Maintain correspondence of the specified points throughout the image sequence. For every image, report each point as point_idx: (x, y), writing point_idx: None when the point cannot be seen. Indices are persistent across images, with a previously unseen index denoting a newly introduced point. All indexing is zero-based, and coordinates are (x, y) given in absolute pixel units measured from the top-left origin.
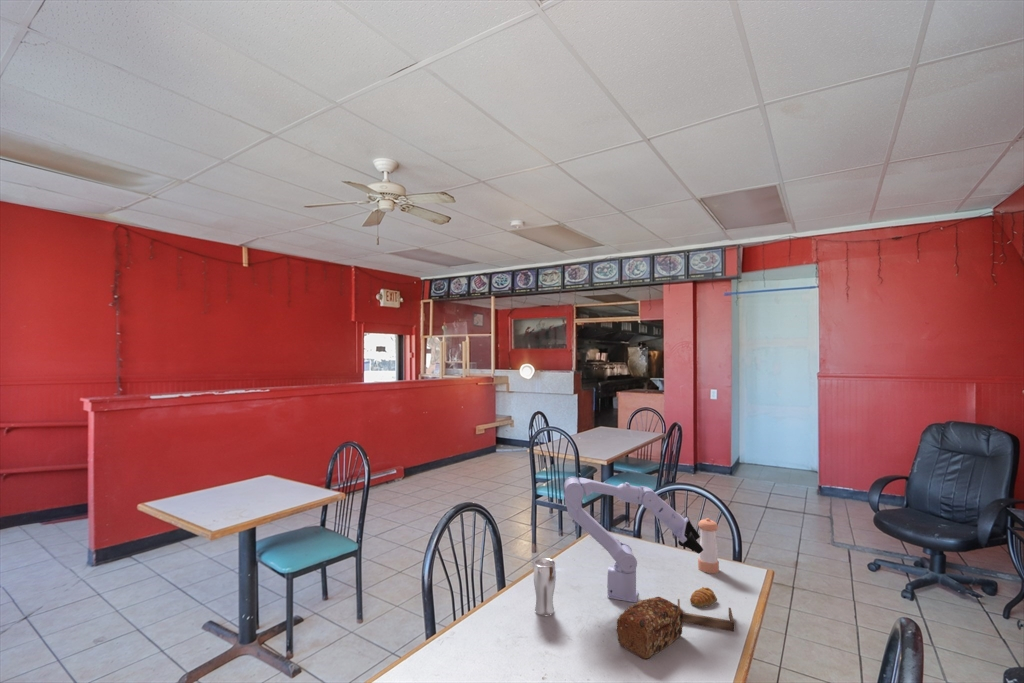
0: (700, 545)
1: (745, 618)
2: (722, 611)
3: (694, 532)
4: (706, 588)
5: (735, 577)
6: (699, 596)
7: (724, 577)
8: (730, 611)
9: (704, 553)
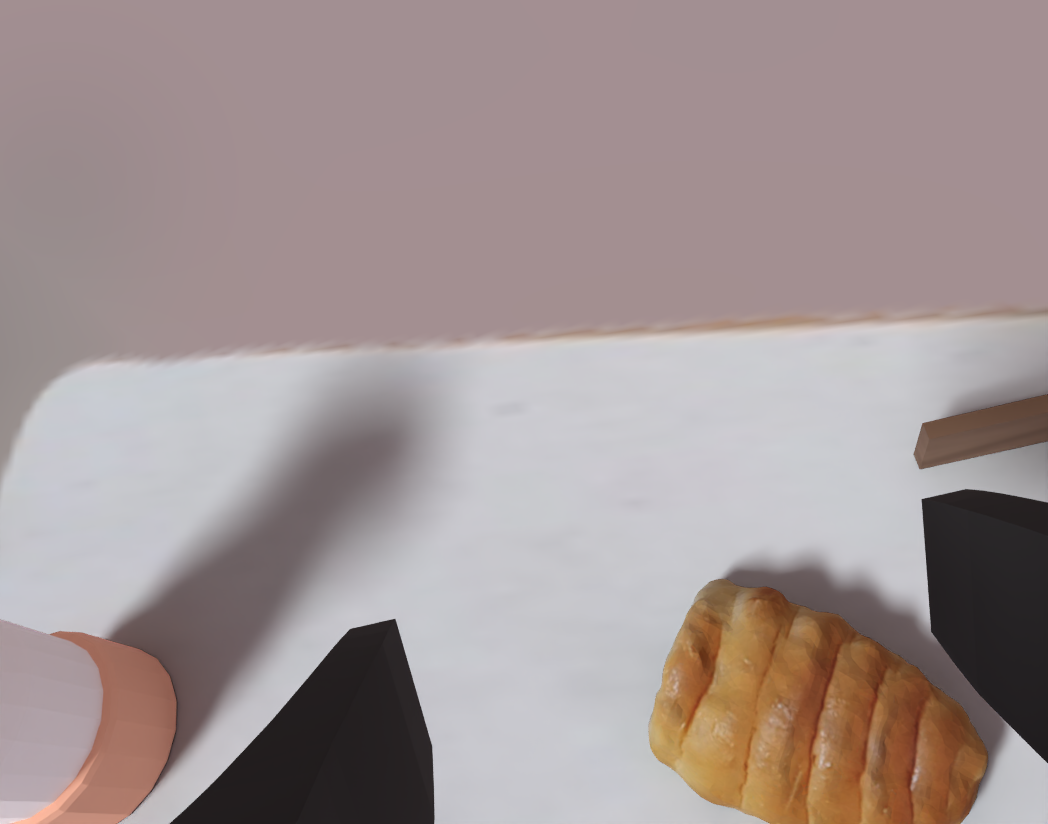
0: (1000, 517)
1: (869, 359)
2: (872, 524)
3: (372, 752)
4: (695, 667)
5: (200, 517)
6: (888, 728)
7: (222, 591)
8: (1005, 413)
9: (14, 750)
